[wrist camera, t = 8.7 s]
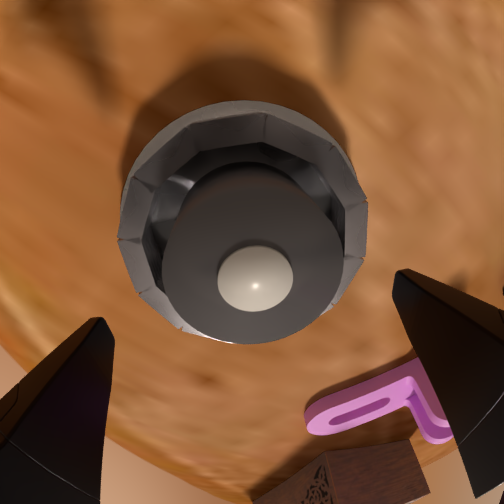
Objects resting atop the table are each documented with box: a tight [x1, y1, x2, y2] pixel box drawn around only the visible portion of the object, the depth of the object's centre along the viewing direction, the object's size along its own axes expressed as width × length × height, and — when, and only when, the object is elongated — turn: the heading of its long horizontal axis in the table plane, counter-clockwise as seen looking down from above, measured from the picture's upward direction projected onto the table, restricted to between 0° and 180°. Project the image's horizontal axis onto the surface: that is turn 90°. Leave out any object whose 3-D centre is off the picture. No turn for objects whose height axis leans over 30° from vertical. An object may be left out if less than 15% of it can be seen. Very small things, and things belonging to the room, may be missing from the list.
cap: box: [162, 161, 344, 344], centre depth 11 cm, size 6×6×4 cm
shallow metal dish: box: [117, 100, 368, 344], centre depth 12 cm, size 11×11×2 cm
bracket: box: [304, 357, 453, 444], centre depth 19 cm, size 13×6×7 cm, turn 110°
